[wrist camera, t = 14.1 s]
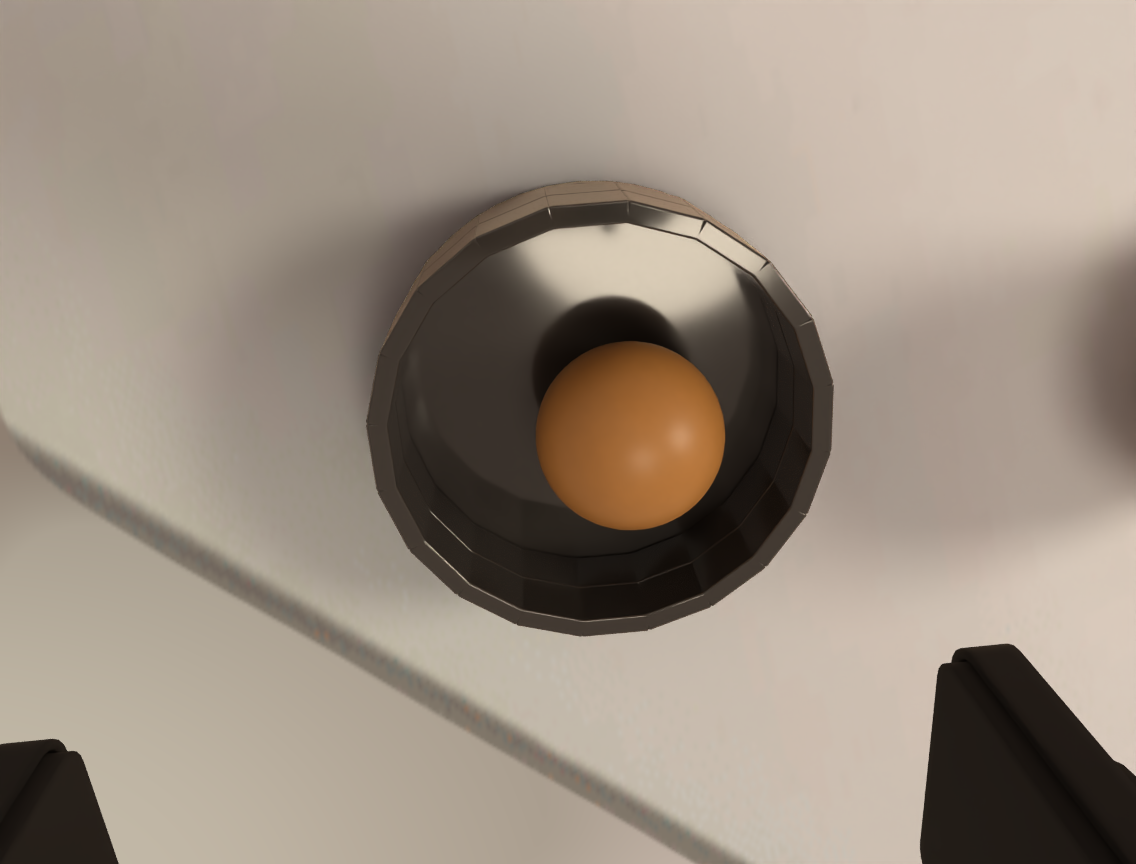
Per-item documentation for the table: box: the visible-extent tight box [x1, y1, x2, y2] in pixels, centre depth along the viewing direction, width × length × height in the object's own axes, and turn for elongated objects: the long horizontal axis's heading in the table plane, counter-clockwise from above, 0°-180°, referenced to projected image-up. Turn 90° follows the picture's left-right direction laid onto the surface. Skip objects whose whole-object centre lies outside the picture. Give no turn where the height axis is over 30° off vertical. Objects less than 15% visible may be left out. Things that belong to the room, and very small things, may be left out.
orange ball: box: [536, 341, 725, 530], centre depth 28 cm, size 6×6×6 cm
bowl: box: [366, 181, 834, 636], centre depth 29 cm, size 13×13×4 cm
